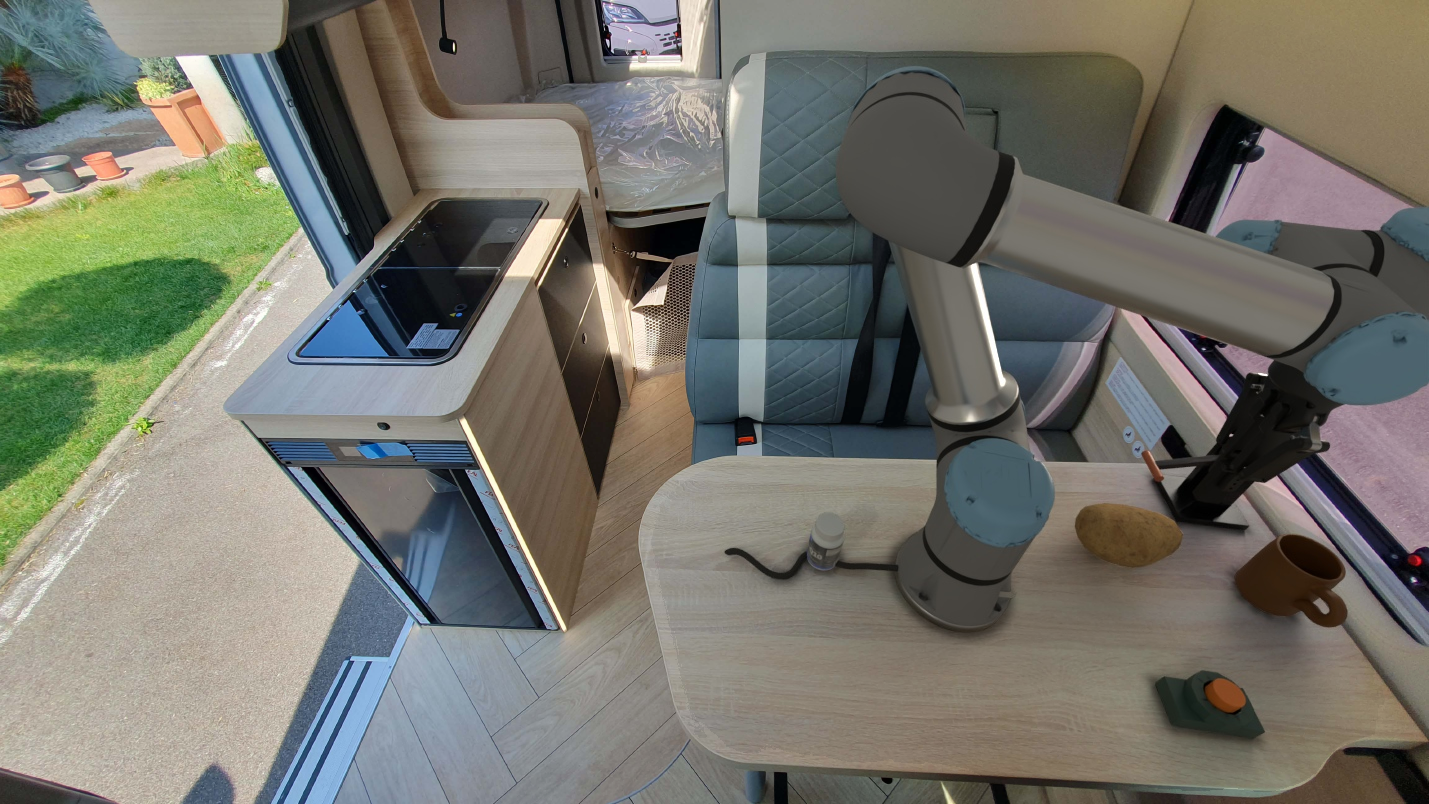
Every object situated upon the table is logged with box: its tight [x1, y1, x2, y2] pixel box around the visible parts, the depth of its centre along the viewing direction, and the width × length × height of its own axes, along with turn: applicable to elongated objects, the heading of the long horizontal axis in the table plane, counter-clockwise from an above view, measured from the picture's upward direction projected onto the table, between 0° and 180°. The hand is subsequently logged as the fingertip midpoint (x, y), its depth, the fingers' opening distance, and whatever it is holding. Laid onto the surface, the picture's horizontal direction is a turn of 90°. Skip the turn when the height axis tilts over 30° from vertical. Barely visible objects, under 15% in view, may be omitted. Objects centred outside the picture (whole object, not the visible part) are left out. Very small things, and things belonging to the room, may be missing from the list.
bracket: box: [1152, 442, 1255, 531], centre depth 89 cm, size 10×9×13 cm
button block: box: [1154, 669, 1266, 740], centre depth 69 cm, size 9×6×4 cm
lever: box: [1140, 450, 1220, 482], centre depth 88 cm, size 13×6×2 cm, turn 81°
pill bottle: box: [806, 511, 846, 571], centre depth 82 cm, size 5×5×8 cm
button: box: [1205, 679, 1246, 713], centre depth 67 cm, size 3×3×2 cm
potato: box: [1074, 502, 1184, 569], centre depth 84 cm, size 10×14×8 cm
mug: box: [1234, 533, 1349, 629], centre depth 77 cm, size 12×8×9 cm, turn 172°
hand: (1205, 497), depth 77 cm, fingers closed
